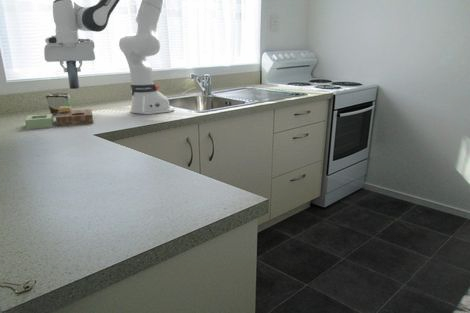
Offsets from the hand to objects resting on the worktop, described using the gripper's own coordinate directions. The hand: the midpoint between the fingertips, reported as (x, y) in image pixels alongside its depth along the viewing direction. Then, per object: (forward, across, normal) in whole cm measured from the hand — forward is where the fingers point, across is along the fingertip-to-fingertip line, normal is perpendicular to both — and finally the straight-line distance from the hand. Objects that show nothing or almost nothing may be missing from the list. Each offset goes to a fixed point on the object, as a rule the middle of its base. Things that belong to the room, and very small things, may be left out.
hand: (72, 71), depth 164 cm
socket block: (+23, +2, -4) cm, 23 cm away
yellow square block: (+22, +6, -7) cm, 24 cm away
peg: (+7, 0, 0) cm, 7 cm away
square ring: (+23, +16, 0) cm, 28 cm away
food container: (+23, +8, -28) cm, 37 cm away
